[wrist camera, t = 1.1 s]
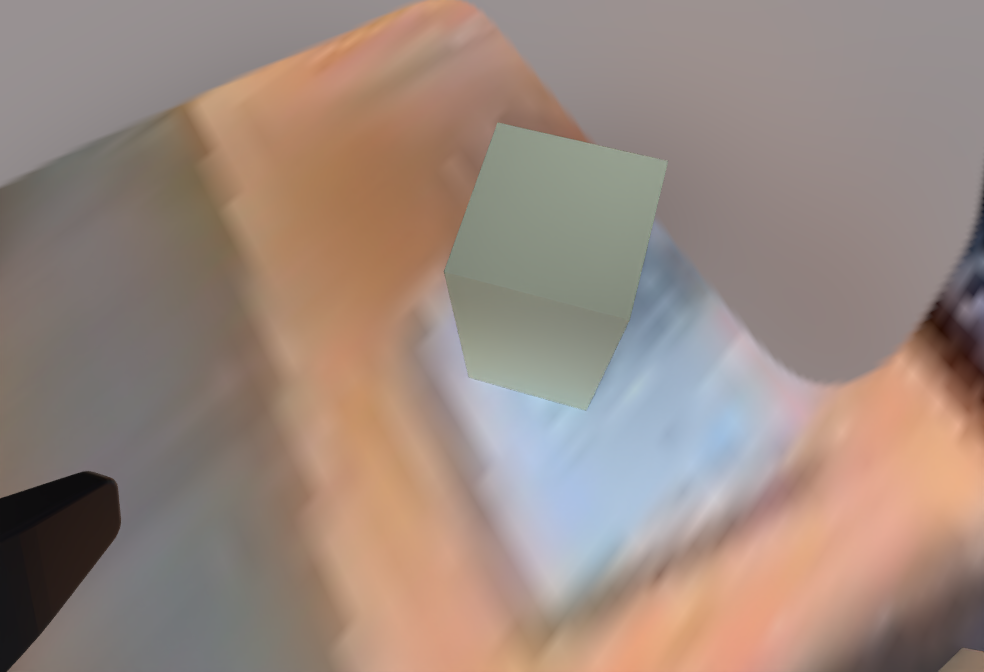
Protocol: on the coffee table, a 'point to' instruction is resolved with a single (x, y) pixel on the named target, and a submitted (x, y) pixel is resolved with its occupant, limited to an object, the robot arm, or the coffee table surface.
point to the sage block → (550, 261)
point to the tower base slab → (965, 661)
